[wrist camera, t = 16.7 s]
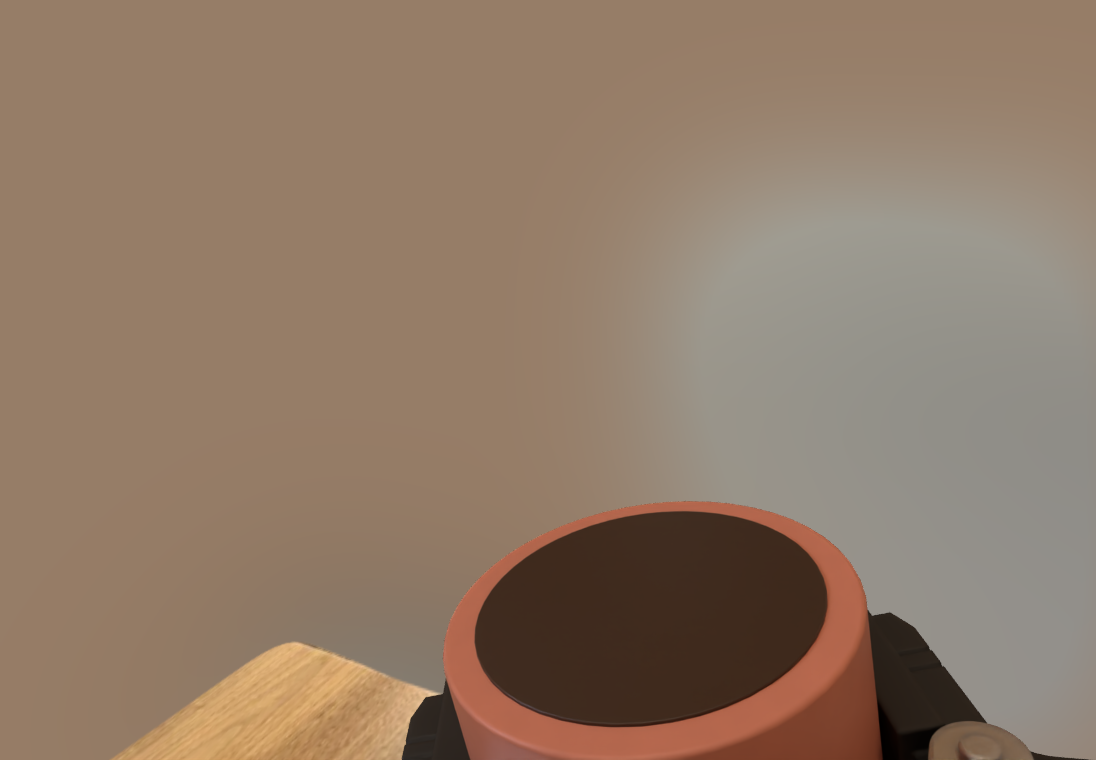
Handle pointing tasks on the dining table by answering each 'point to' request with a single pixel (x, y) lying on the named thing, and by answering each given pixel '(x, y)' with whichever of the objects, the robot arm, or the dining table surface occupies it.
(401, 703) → the dining table surface
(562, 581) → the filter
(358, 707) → the dining table surface
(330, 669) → the dining table surface
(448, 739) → the robot arm
